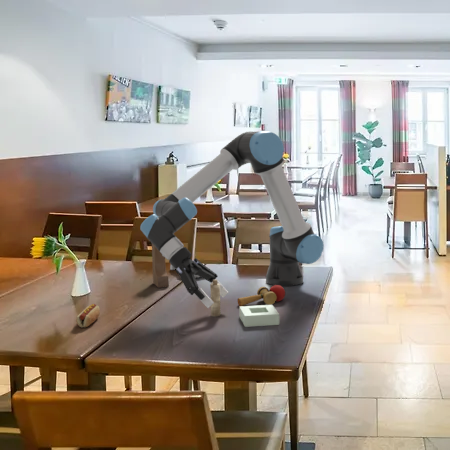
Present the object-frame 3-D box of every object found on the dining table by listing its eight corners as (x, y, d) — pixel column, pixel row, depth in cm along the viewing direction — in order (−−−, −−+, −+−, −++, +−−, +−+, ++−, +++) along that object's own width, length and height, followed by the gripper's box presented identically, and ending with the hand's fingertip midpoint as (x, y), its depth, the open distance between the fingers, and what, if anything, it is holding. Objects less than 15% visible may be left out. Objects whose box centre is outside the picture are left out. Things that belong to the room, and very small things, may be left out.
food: (86, 316, 209) (85, 302, 208) (102, 316, 208) (102, 302, 207) (73, 329, 195) (72, 314, 194) (90, 329, 194) (89, 314, 194)
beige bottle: (219, 313, 209) (219, 278, 207) (221, 316, 206) (220, 280, 204) (210, 313, 208) (209, 279, 207) (211, 316, 205) (210, 281, 203)
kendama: (245, 313, 213) (290, 299, 220) (241, 295, 213) (287, 282, 220) (237, 311, 221) (281, 298, 227) (233, 294, 220) (277, 281, 227)
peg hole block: (269, 310, 211) (268, 300, 210) (279, 324, 195) (279, 314, 195) (237, 312, 209) (237, 302, 209) (244, 326, 194) (244, 316, 193)
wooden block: (168, 287, 246) (167, 242, 244) (157, 288, 245) (156, 243, 242) (163, 282, 255) (162, 239, 252) (153, 283, 253) (151, 240, 251)
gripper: (184, 254, 222) (224, 297, 218) (152, 268, 198) (196, 317, 195) (197, 240, 219) (238, 284, 216) (167, 253, 196) (211, 302, 193)
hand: (218, 300), depth 206 cm, fingers open, 13 cm apart
